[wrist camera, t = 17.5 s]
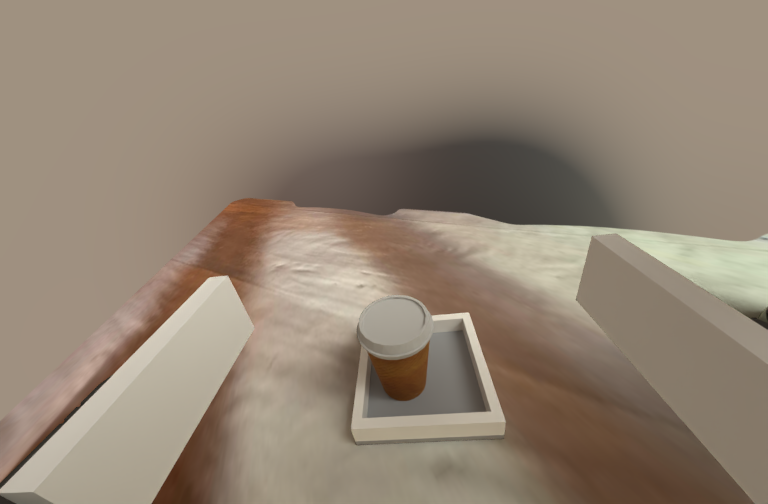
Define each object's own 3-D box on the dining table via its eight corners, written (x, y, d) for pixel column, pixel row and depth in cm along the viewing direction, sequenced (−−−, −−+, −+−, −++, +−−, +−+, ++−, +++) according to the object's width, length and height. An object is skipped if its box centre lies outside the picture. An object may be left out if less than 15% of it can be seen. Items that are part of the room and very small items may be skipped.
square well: (468, 328, 47) (468, 312, 46) (503, 438, 32) (505, 421, 30) (367, 336, 49) (364, 321, 47) (356, 444, 34) (350, 429, 32)
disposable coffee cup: (376, 422, 35) (358, 358, 29) (367, 361, 43) (352, 301, 37) (448, 402, 36) (445, 337, 30) (426, 346, 44) (420, 286, 38)
